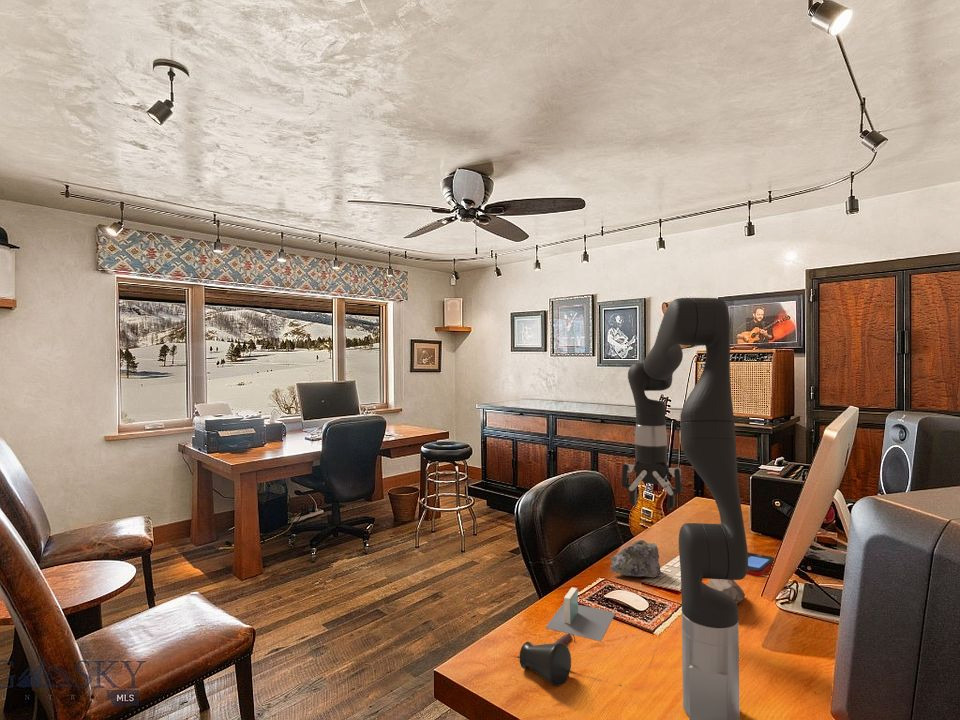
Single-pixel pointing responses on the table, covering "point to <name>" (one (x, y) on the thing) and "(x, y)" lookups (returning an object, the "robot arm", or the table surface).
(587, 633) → the mat
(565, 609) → the tile
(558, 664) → the coffee pot
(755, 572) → the game console
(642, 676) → the table surface
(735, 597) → the stone
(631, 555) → the mineral rock
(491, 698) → the table surface
